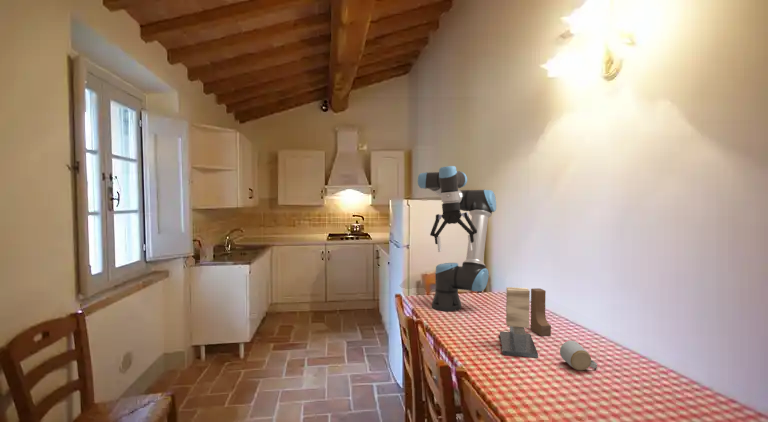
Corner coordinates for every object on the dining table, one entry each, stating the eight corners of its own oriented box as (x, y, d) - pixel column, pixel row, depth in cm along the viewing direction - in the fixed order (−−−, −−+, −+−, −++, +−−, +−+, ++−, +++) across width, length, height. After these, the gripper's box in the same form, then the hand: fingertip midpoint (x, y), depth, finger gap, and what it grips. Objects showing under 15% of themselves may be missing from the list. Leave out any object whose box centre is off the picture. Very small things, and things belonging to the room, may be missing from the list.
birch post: (506, 322, 156) (506, 287, 155) (527, 323, 154) (527, 288, 153) (507, 326, 151) (507, 289, 150) (529, 327, 149) (529, 291, 148)
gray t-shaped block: (499, 334, 164) (499, 315, 164) (530, 337, 162) (530, 317, 161) (502, 354, 143) (503, 333, 143) (537, 357, 140) (538, 335, 140)
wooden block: (551, 336, 163) (551, 292, 163) (540, 336, 163) (541, 293, 162) (539, 328, 172) (540, 288, 172) (530, 329, 171) (530, 288, 171)
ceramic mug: (570, 372, 129) (571, 348, 129) (559, 361, 137) (559, 339, 137) (602, 372, 129) (603, 349, 129) (589, 362, 137) (589, 340, 137)
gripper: (420, 205, 171) (425, 253, 172) (478, 200, 161) (482, 251, 162) (425, 204, 178) (429, 250, 179) (481, 199, 168) (485, 248, 169)
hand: (455, 251), depth 170 cm, fingers open, 13 cm apart
